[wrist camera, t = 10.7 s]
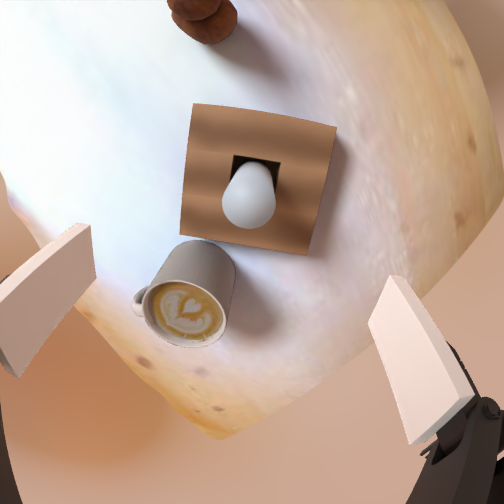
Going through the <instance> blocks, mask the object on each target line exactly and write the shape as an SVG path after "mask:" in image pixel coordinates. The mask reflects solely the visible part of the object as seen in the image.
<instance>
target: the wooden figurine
mask: <svg viewBox="0 0 504 504" xmlns="http://www.w3.org/2000/svg"><path fill="white" fill-rule="evenodd" d="M167 3H168V6H169V8H170V9H171V10H172V19H173V21H174V22H175V23H176V24H177V26H178V27H179V28H180V29H181V30H182V31H184V32H185V33H186V34H187V35H189V36H190V37H192V38H193V39H195V40H196V41H199V42H201V43H203V44H212V43H217V42H219V41H222V40H224V39H225V38H226V37H228V36H229V35H230V34H231V33H232V31H233V29H234V28H235V26H236V24H237V10H236V9H235V7H234V6H233V4H232V3H231V2H230V1H229V0H167Z"/></svg>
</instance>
